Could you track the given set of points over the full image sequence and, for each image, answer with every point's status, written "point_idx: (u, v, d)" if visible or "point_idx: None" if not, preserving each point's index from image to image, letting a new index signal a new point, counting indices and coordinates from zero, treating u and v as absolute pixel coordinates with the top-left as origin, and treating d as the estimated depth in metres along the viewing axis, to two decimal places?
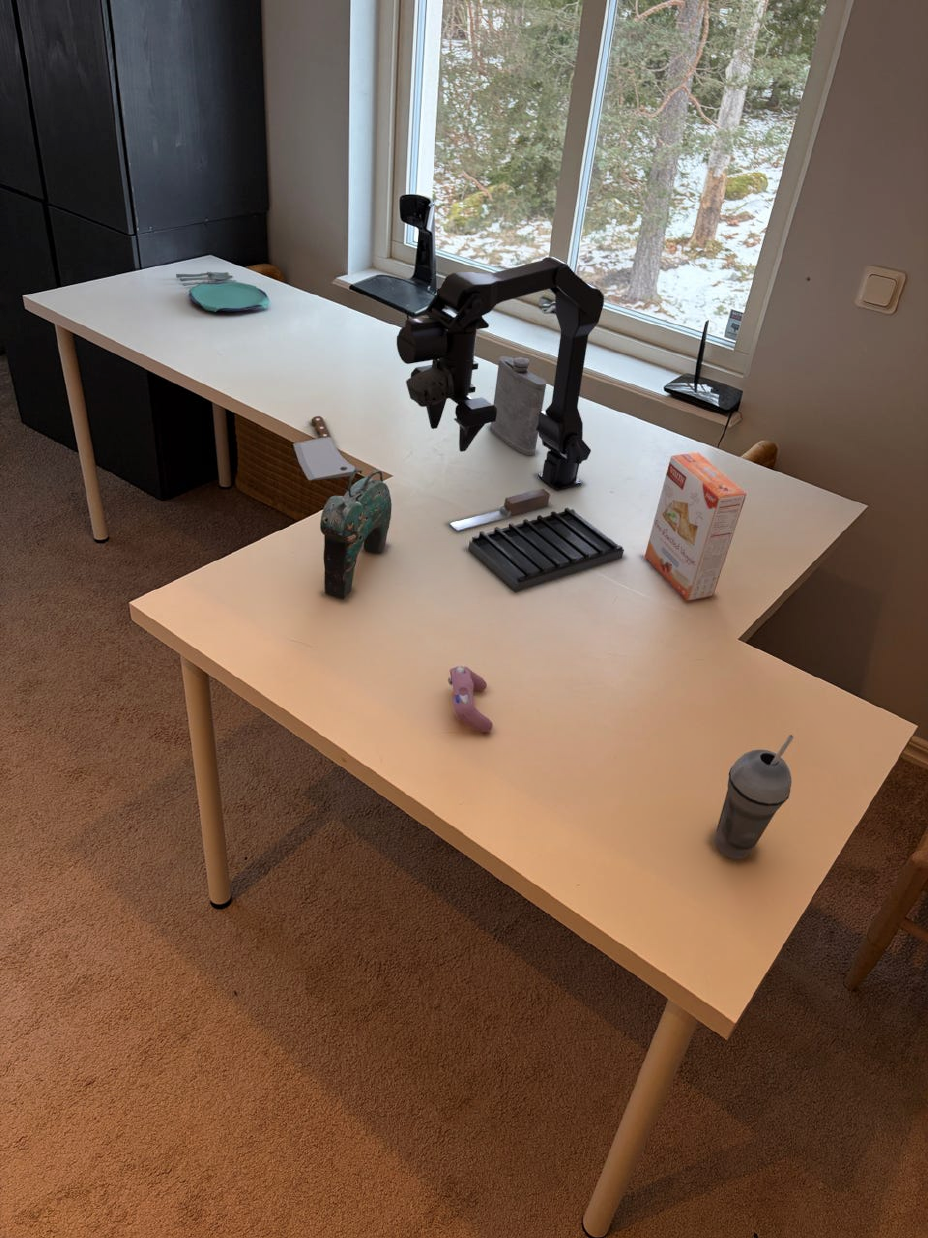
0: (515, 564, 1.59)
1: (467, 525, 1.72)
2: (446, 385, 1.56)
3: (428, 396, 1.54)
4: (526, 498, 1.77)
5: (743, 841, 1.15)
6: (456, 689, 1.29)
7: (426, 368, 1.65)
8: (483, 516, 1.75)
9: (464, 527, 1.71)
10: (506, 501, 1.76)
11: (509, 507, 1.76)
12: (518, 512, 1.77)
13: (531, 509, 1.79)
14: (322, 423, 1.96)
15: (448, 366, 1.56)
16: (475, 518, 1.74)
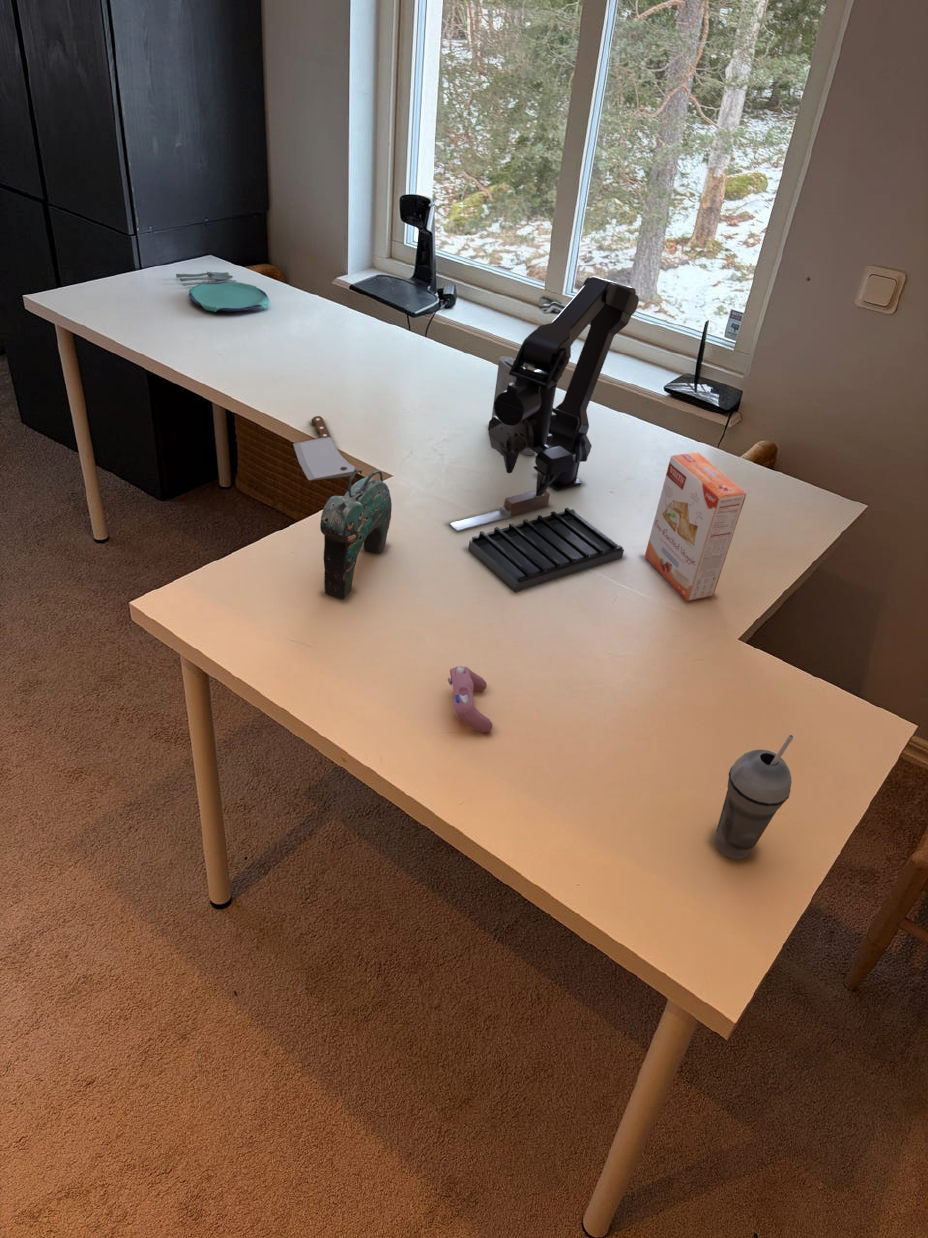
0: (515, 564, 1.59)
1: (467, 525, 1.72)
2: (526, 436, 1.65)
3: (511, 447, 1.63)
4: (526, 498, 1.77)
5: (743, 841, 1.15)
6: (456, 689, 1.29)
7: None
8: (483, 516, 1.75)
9: (464, 527, 1.71)
10: (506, 501, 1.76)
11: (509, 507, 1.76)
12: (518, 512, 1.77)
13: (531, 509, 1.79)
14: (322, 423, 1.96)
15: (529, 418, 1.64)
16: (475, 518, 1.74)
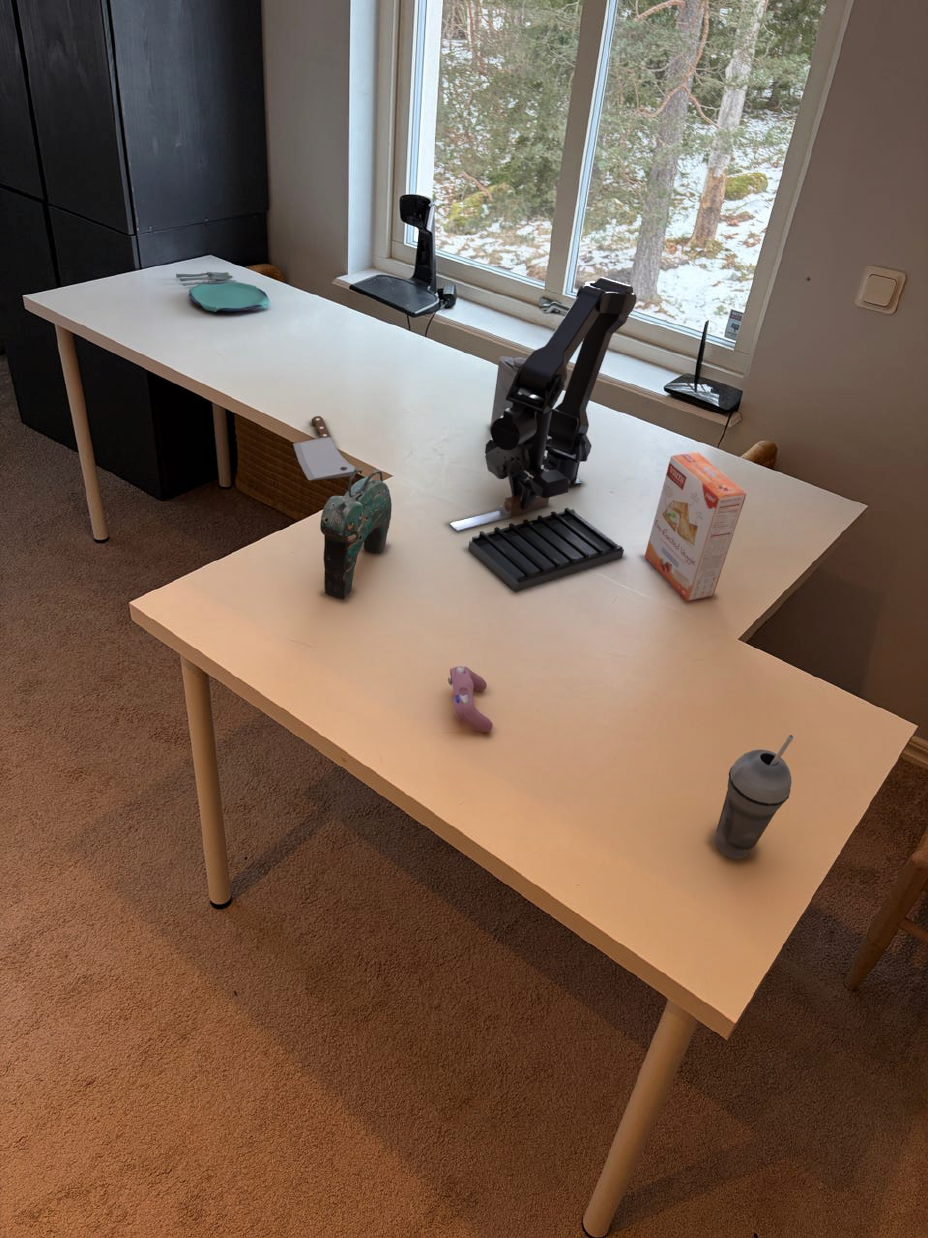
0: (515, 564, 1.59)
1: (467, 525, 1.72)
2: (523, 459, 1.68)
3: (507, 470, 1.66)
4: None
5: (743, 841, 1.15)
6: (456, 689, 1.29)
7: None
8: (483, 517, 1.75)
9: (464, 527, 1.71)
10: (506, 501, 1.76)
11: (509, 507, 1.76)
12: (518, 512, 1.77)
13: (531, 509, 1.79)
14: (322, 423, 1.96)
15: (525, 442, 1.67)
16: (475, 518, 1.74)
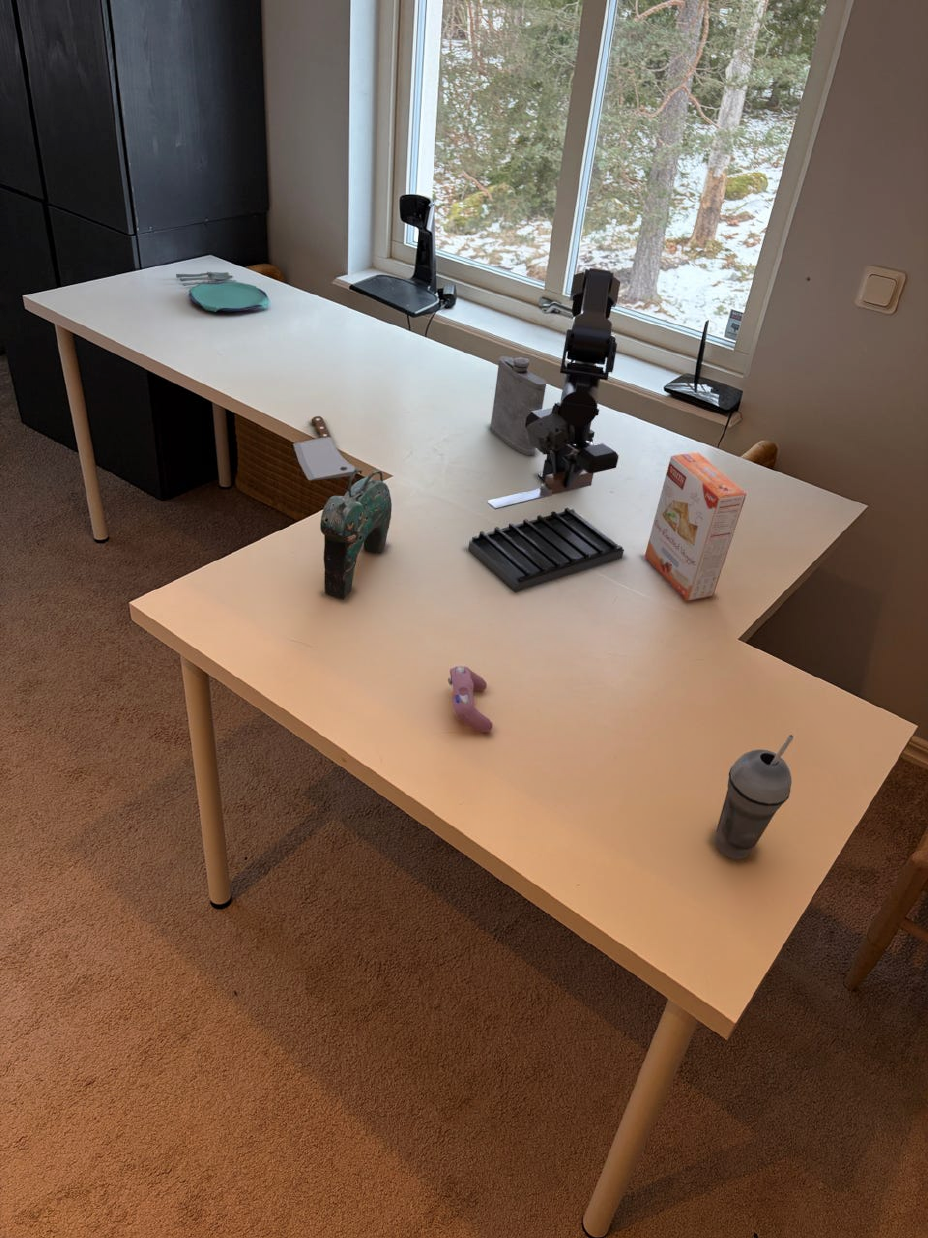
0: (515, 564, 1.59)
1: (506, 502, 1.59)
2: (567, 431, 1.55)
3: (551, 443, 1.53)
4: None
5: (743, 841, 1.15)
6: (456, 689, 1.29)
7: (542, 412, 1.64)
8: (523, 494, 1.62)
9: (502, 505, 1.59)
10: (547, 478, 1.63)
11: (550, 485, 1.63)
12: (560, 490, 1.65)
13: (574, 488, 1.66)
14: (322, 423, 1.96)
15: None
16: (514, 496, 1.62)
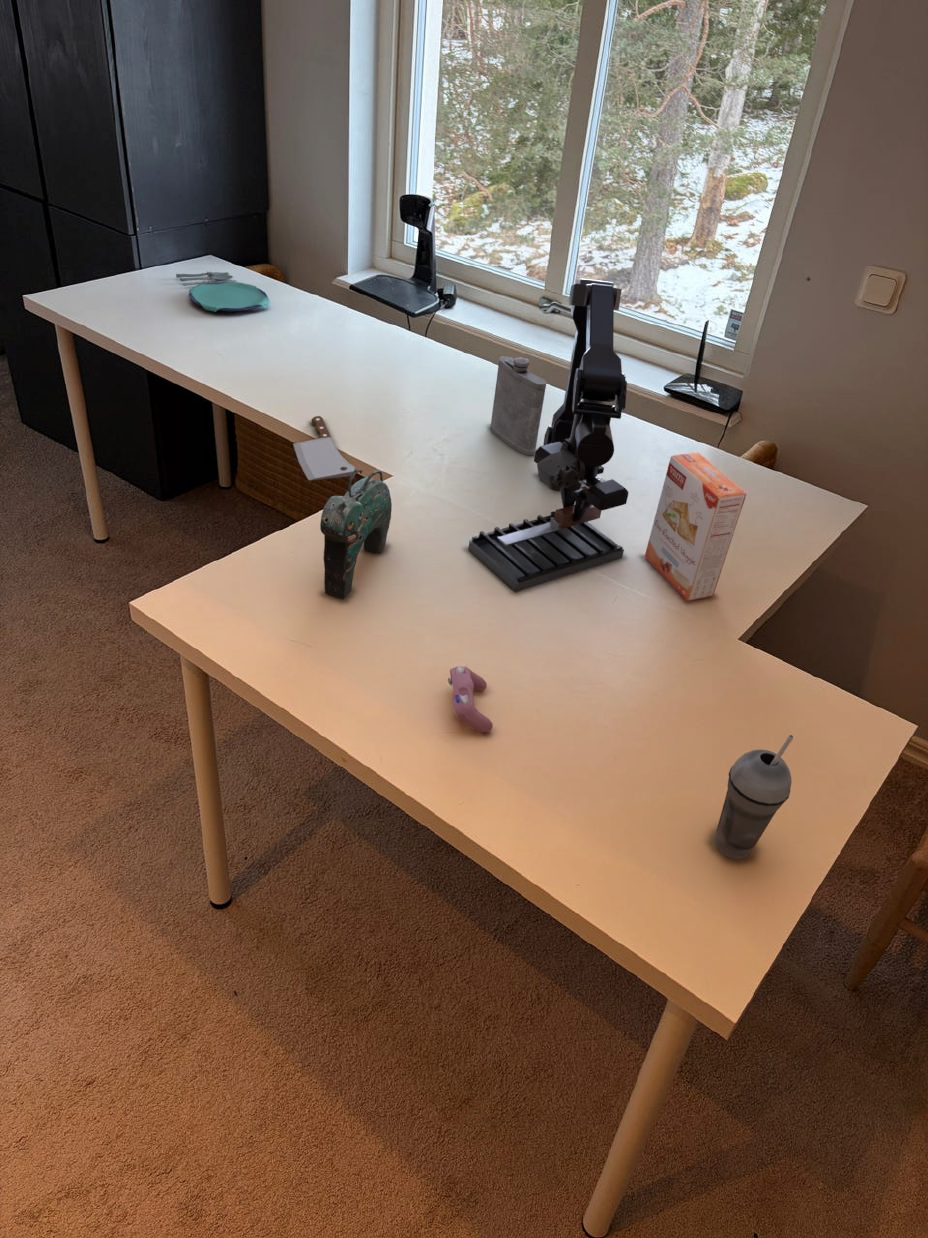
0: (515, 564, 1.59)
1: (516, 538, 1.60)
2: (578, 468, 1.56)
3: (561, 481, 1.54)
4: None
5: (743, 841, 1.15)
6: (456, 689, 1.29)
7: (551, 447, 1.65)
8: (533, 529, 1.63)
9: (513, 541, 1.60)
10: (557, 512, 1.64)
11: (560, 519, 1.64)
12: (569, 524, 1.65)
13: (583, 521, 1.67)
14: (322, 423, 1.96)
15: None
16: (524, 531, 1.62)
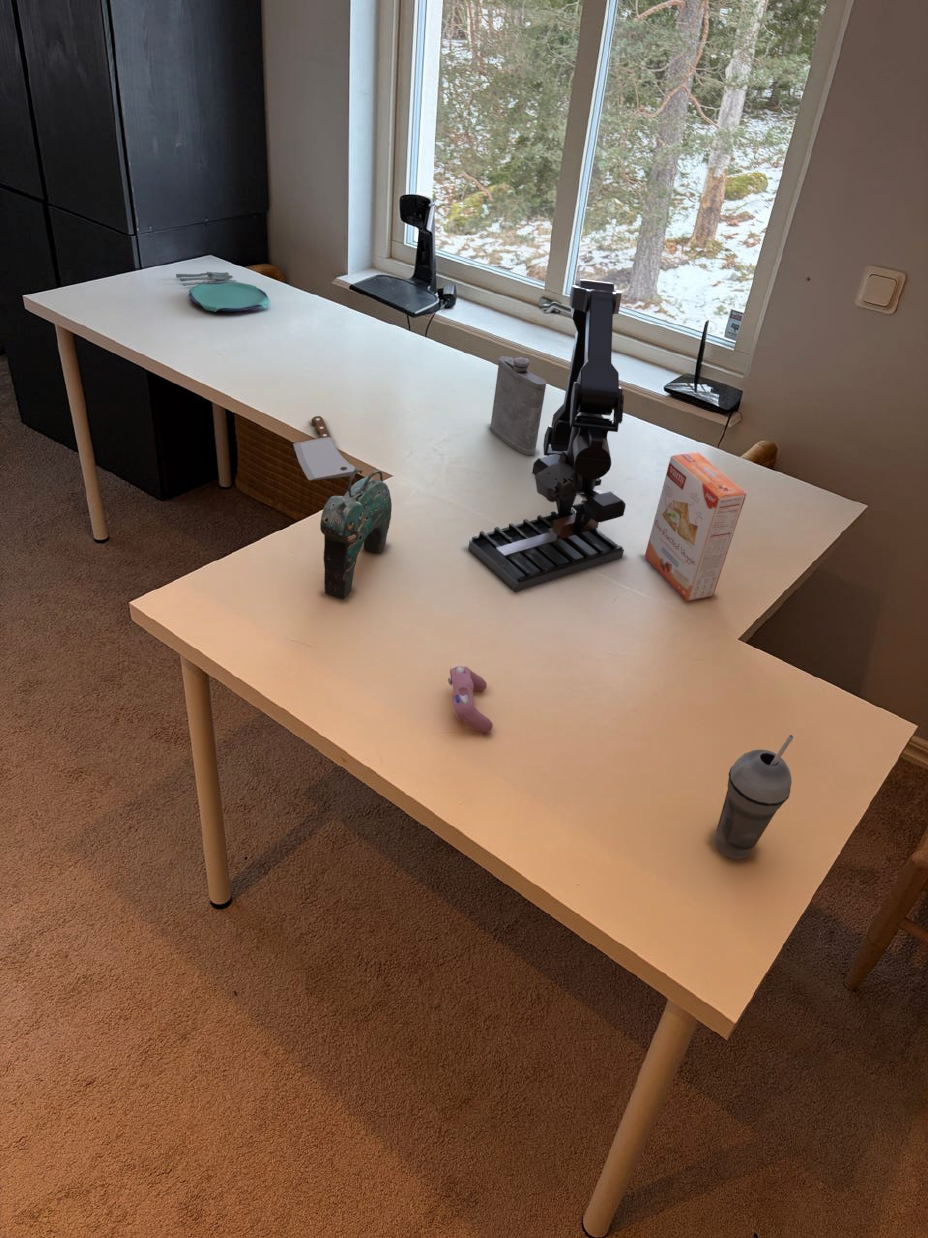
0: (515, 564, 1.59)
1: (515, 549, 1.62)
2: (575, 481, 1.57)
3: (559, 493, 1.55)
4: None
5: (743, 841, 1.15)
6: (456, 689, 1.29)
7: (548, 459, 1.66)
8: (531, 540, 1.64)
9: (512, 552, 1.61)
10: (555, 523, 1.66)
11: (558, 530, 1.65)
12: (567, 535, 1.67)
13: (581, 531, 1.68)
14: (322, 423, 1.96)
15: None
16: (522, 542, 1.64)
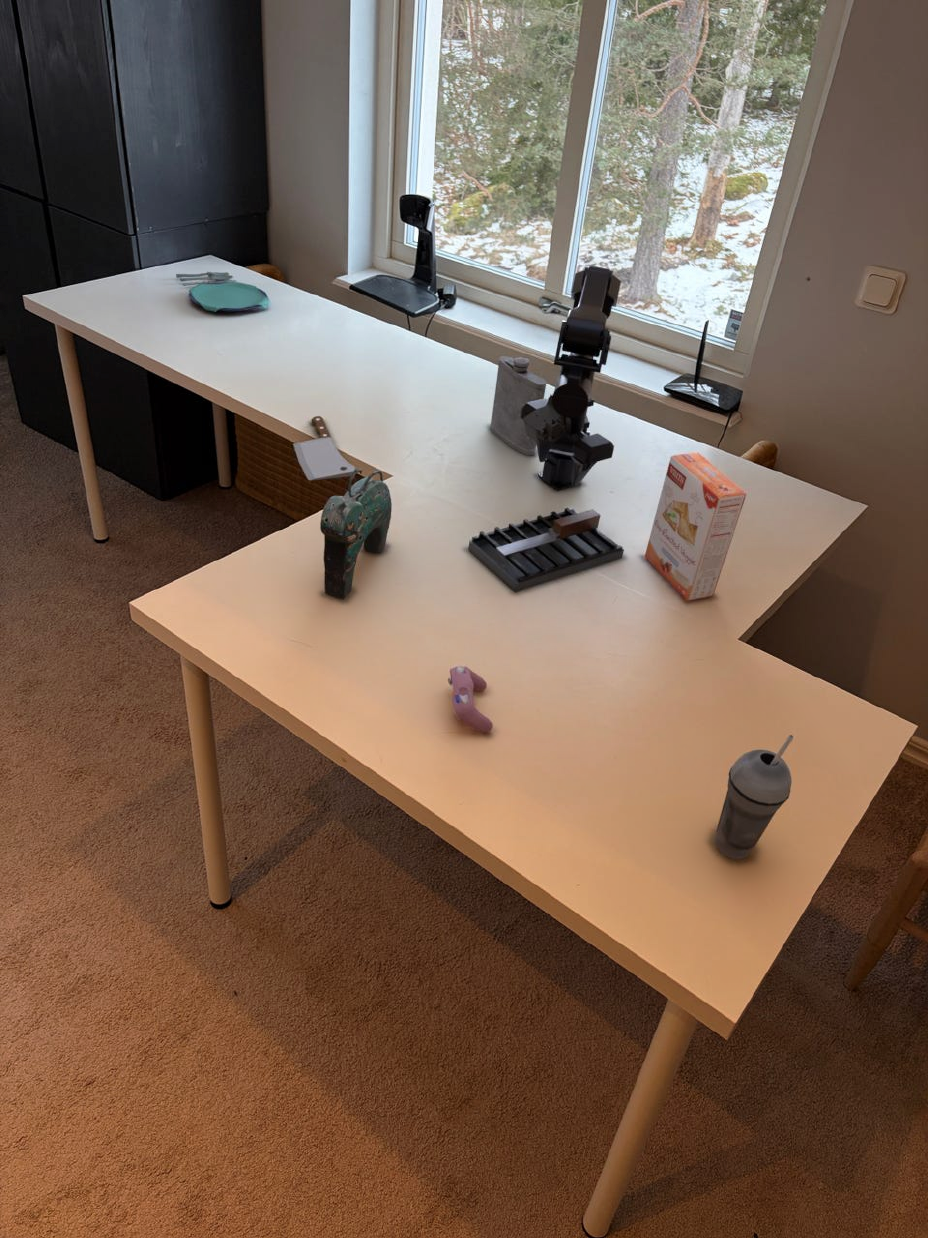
0: (515, 564, 1.59)
1: (515, 549, 1.62)
2: (563, 423, 1.58)
3: (548, 435, 1.55)
4: (575, 520, 1.66)
5: (743, 841, 1.15)
6: (456, 689, 1.29)
7: (537, 403, 1.66)
8: (531, 540, 1.64)
9: (512, 552, 1.61)
10: (555, 523, 1.66)
11: (558, 530, 1.65)
12: (567, 535, 1.67)
13: (581, 531, 1.68)
14: (322, 423, 1.96)
15: None
16: (522, 542, 1.64)
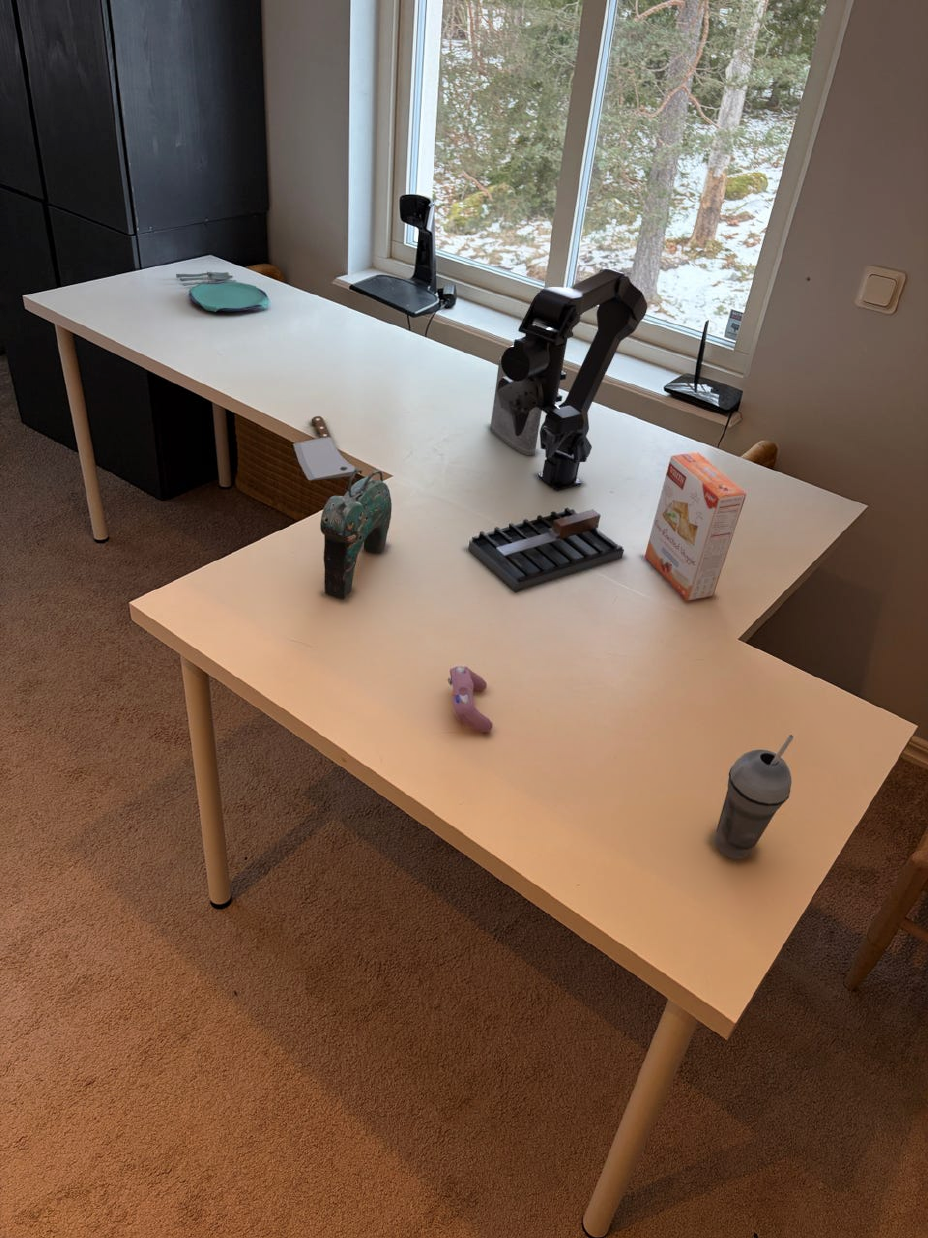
0: (515, 564, 1.59)
1: (515, 549, 1.62)
2: (536, 395, 1.64)
3: (520, 405, 1.61)
4: (575, 520, 1.66)
5: (743, 841, 1.15)
6: (456, 689, 1.29)
7: None
8: (531, 540, 1.64)
9: (512, 552, 1.61)
10: (555, 523, 1.66)
11: (558, 530, 1.65)
12: (567, 535, 1.67)
13: (581, 531, 1.68)
14: (322, 423, 1.96)
15: (539, 376, 1.63)
16: (522, 542, 1.64)
